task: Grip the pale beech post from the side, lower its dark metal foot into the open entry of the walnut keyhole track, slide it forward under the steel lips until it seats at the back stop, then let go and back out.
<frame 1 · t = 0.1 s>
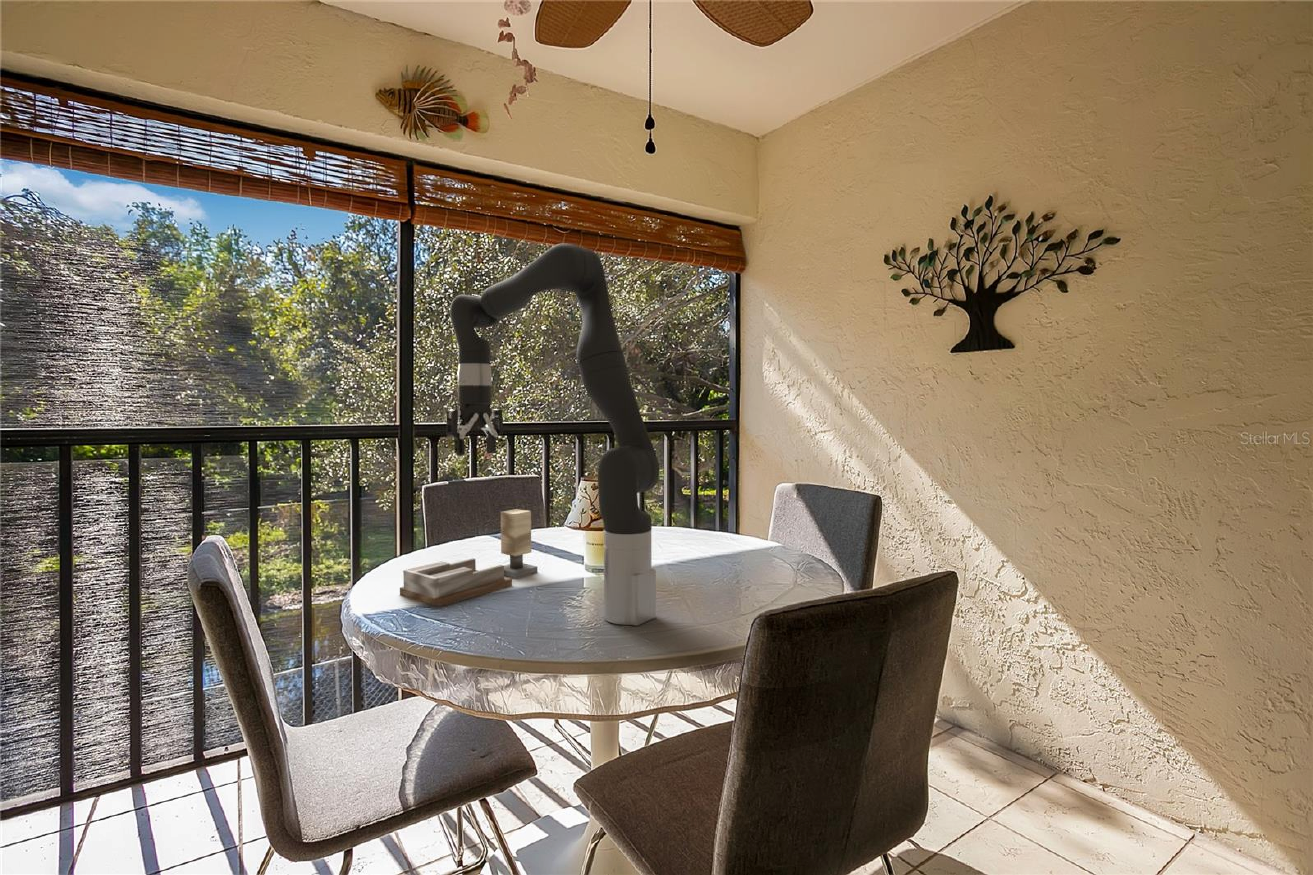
hand: (476, 454, 154), 29 cm above the table, tool pointing down, fingers open, 8 cm apart
keyhole track: (457, 589, 146), on the table
keyhole post: (516, 573, 160), on the table
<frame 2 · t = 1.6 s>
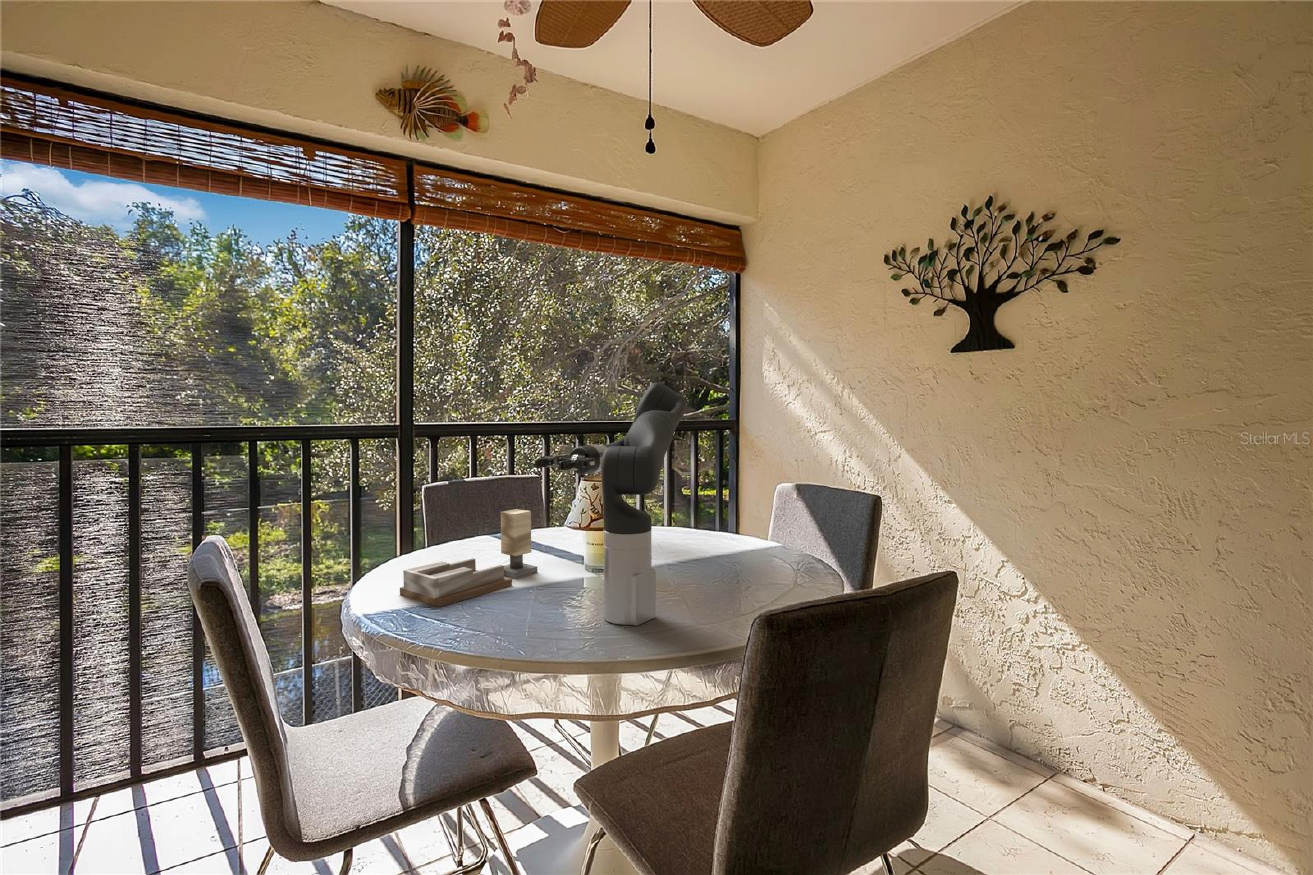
hand: (547, 465, 167), 25 cm above the table, tool horizontal, fingers open, 8 cm apart
nothing on the table moved.
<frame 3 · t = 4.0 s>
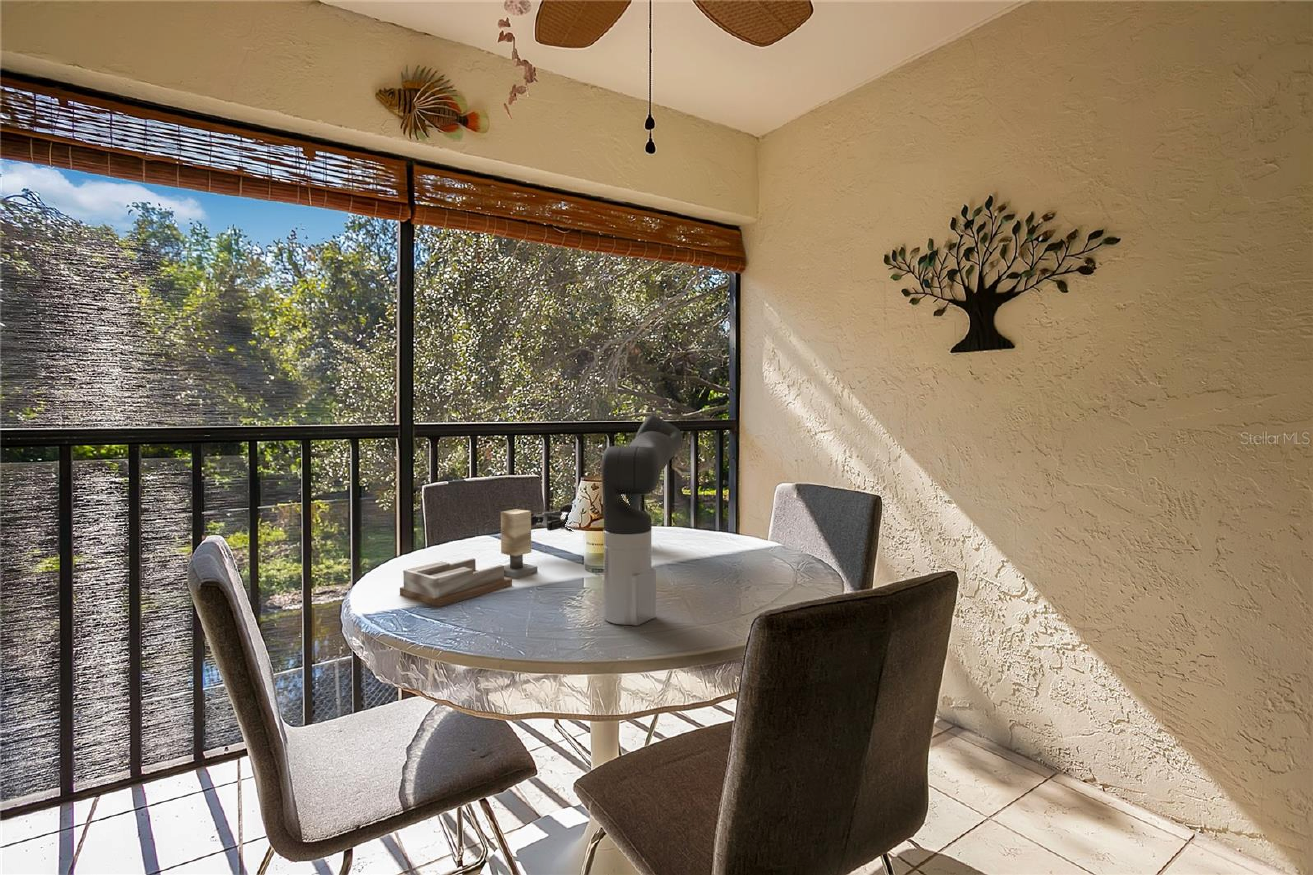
hand: (535, 524, 164), 11 cm above the table, tool horizontal, fingers open, 8 cm apart
nothing on the table moved.
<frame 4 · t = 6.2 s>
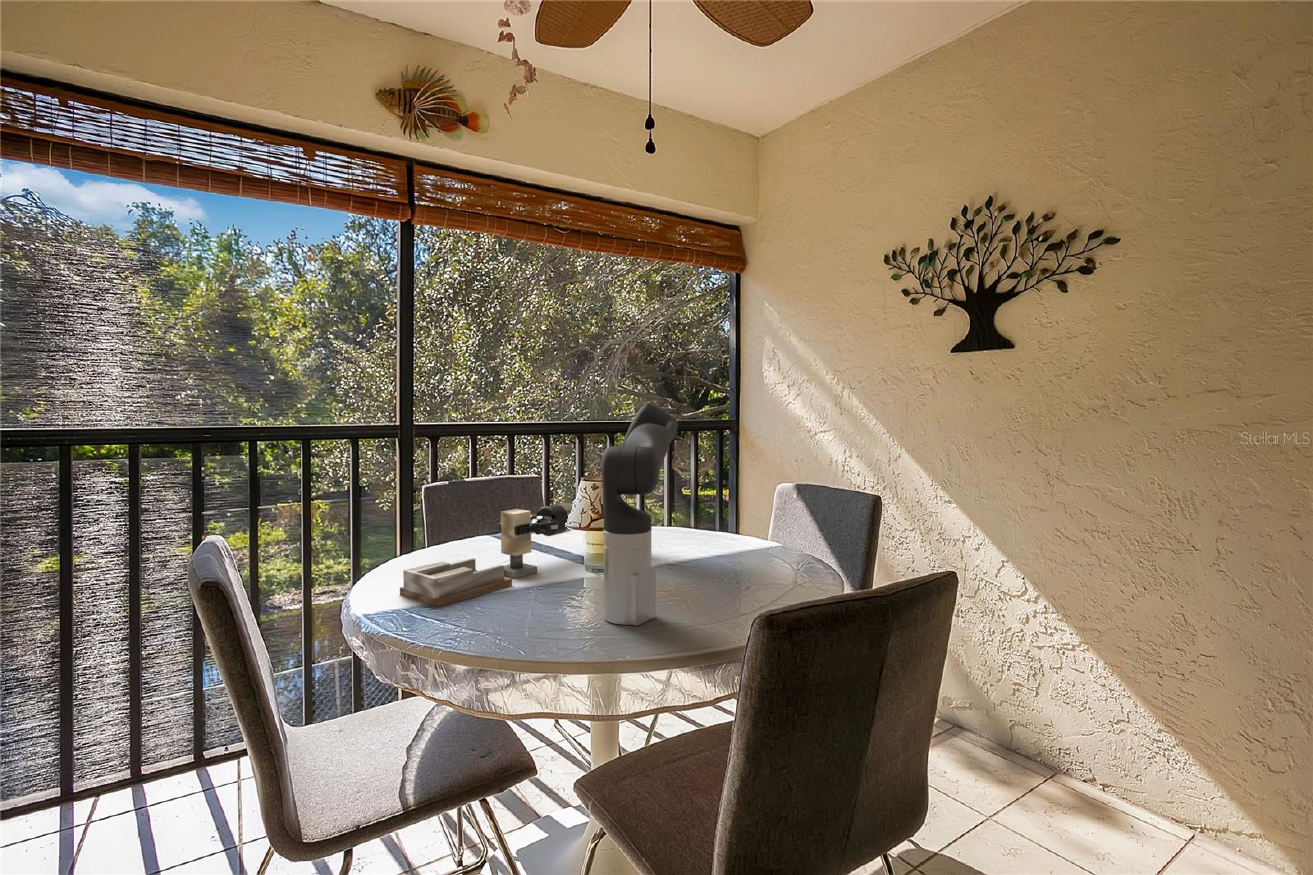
hand: (507, 529, 157), 11 cm above the table, tool horizontal, fingers closed on keyhole post, 5 cm apart
keyhole post: (516, 573, 160), on the table, touching gripper
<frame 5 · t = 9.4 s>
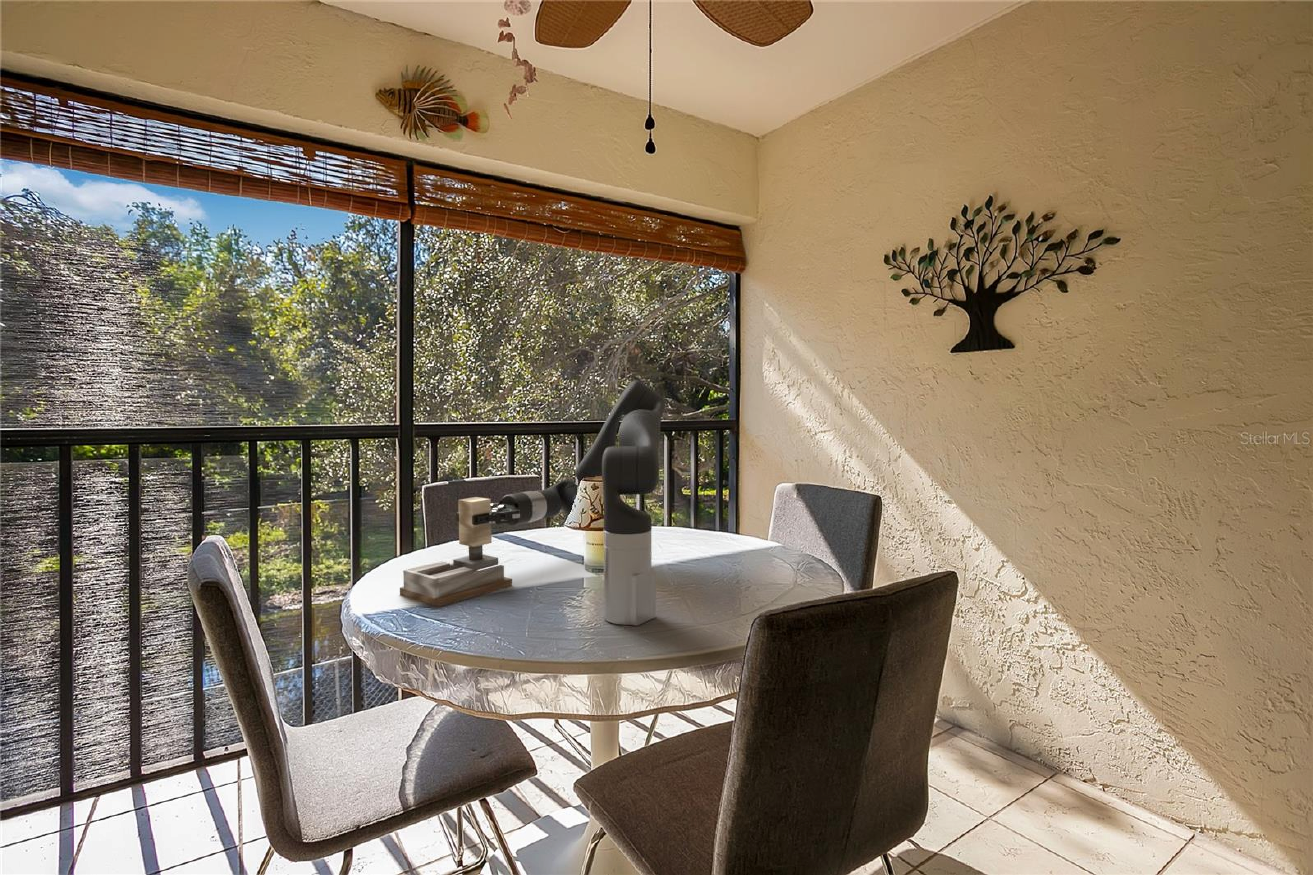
hand: (465, 518, 147), 15 cm above the table, tool horizontal, fingers closed on keyhole post, 5 cm apart
keyhole post: (476, 565, 150), point 4 cm above the table, touching gripper
when the fingers open (13 cm above the table, at t = 12.9 s): keyhole post stays where it is, resting on keyhole track.
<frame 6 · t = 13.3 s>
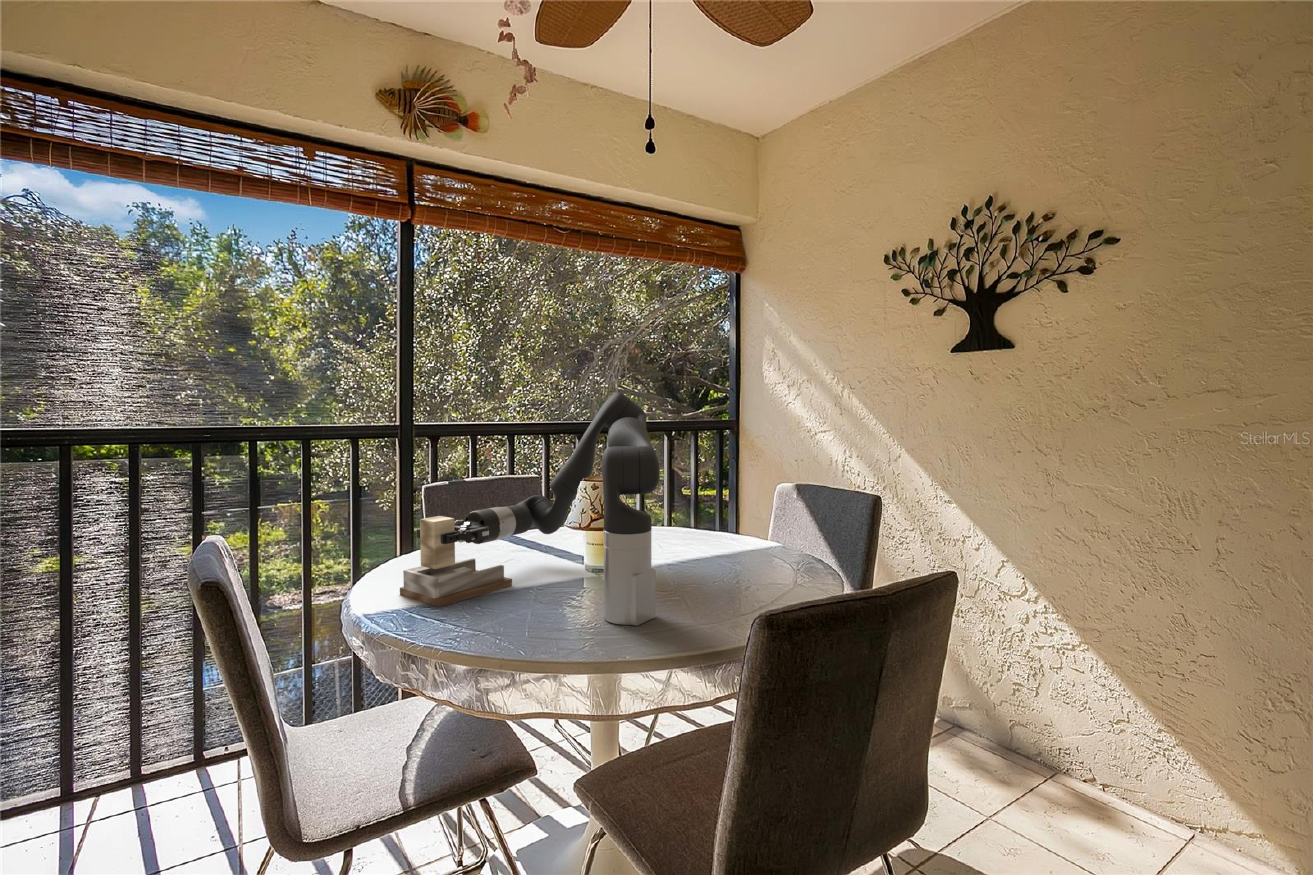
hand: (429, 536, 140), 13 cm above the table, tool horizontal, fingers open, 8 cm apart
keyhole post: (438, 588, 142), point 1 cm above the table, touching keyhole track
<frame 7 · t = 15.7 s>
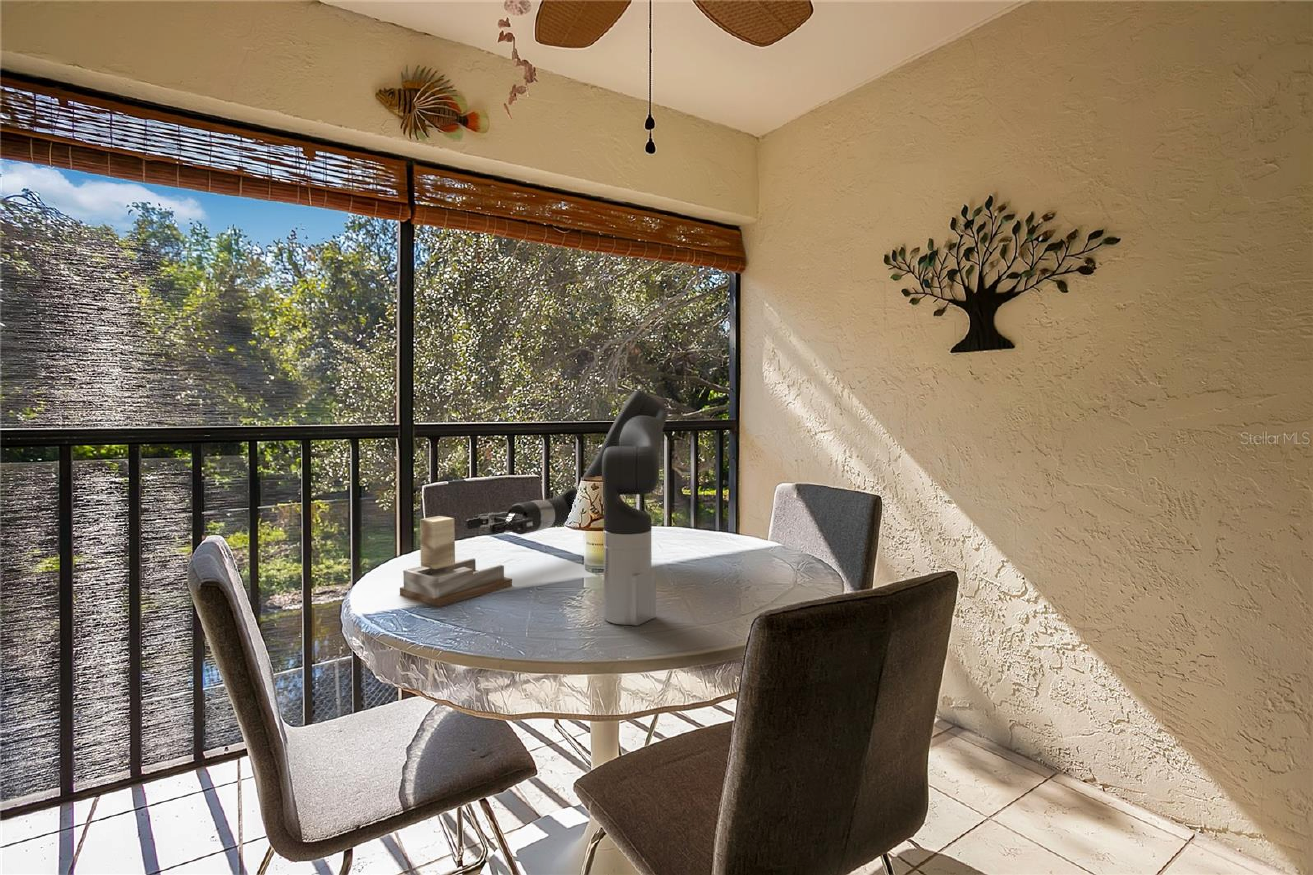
hand: (478, 527, 150), 13 cm above the table, tool horizontal, fingers open, 8 cm apart
nothing on the table moved.
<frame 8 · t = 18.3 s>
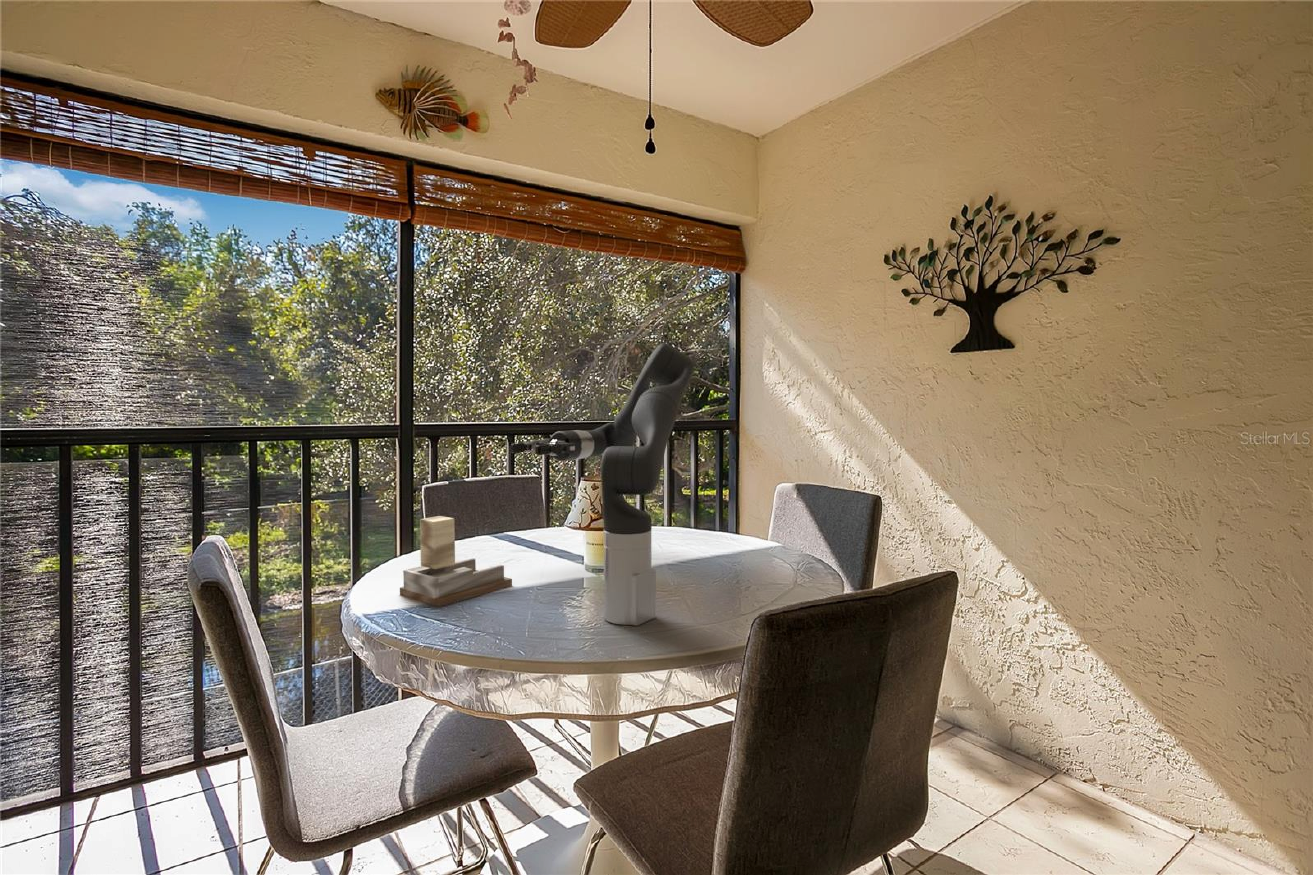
hand: (523, 449, 156), 30 cm above the table, tool horizontal, fingers open, 8 cm apart
nothing on the table moved.
at the end: keyhole post 0.6 cm from the target spot, point 1.5 cm above the table; keyhole post tilted 0°; the gripper is holding nothing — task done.
